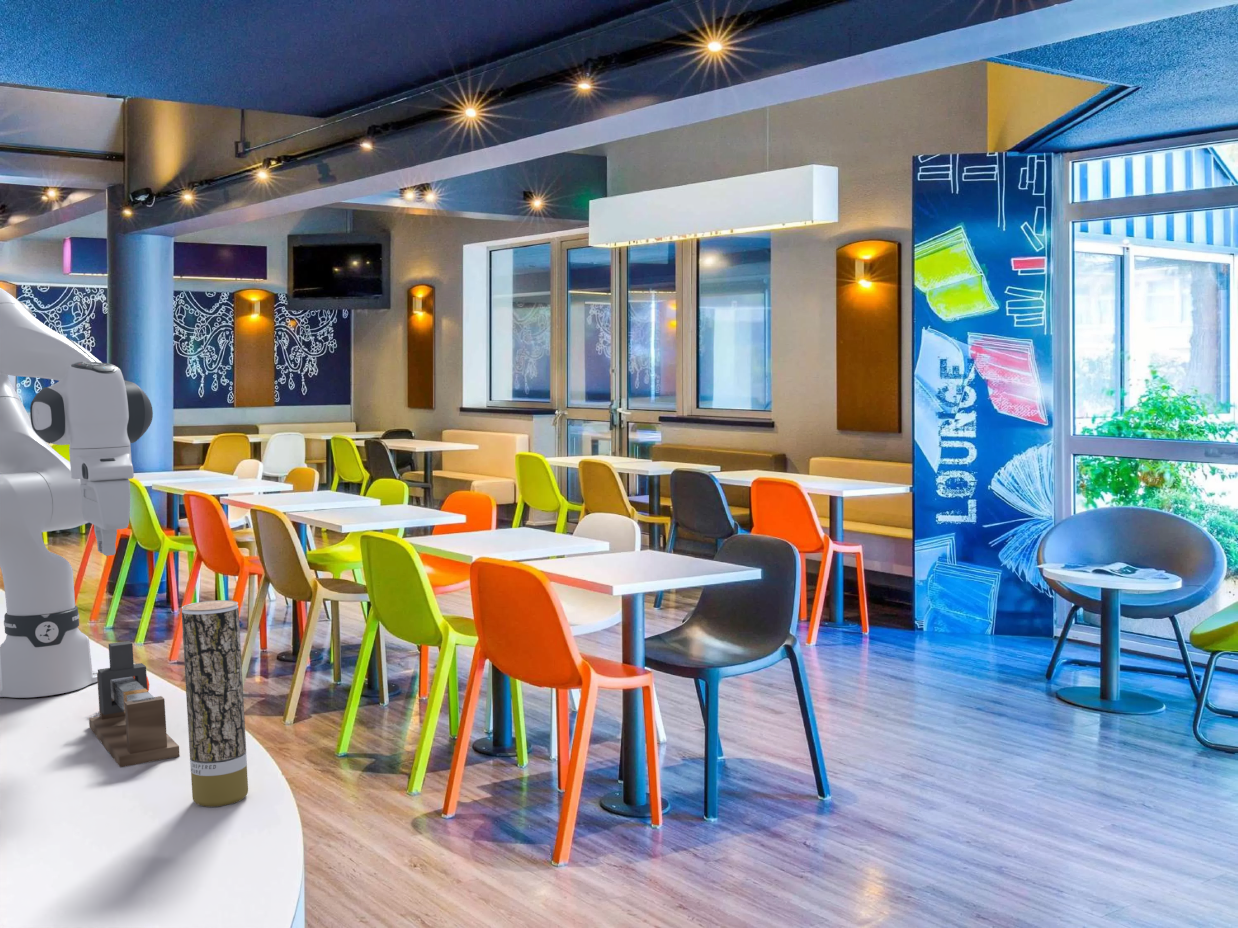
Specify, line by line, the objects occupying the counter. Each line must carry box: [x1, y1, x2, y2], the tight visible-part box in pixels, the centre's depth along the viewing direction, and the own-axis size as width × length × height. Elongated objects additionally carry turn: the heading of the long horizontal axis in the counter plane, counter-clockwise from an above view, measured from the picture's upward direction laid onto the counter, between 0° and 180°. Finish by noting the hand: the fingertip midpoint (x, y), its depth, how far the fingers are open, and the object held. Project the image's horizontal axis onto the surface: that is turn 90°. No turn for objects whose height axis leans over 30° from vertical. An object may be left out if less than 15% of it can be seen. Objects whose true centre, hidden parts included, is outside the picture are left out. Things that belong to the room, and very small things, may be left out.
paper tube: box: [181, 599, 249, 808], centre depth 152 cm, size 7×7×25 cm
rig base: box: [88, 673, 180, 768], centre depth 180 cm, size 25×8×8 cm, turn 33°
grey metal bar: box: [110, 677, 155, 712], centre depth 180 cm, size 22×3×3 cm, turn 33°
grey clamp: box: [97, 640, 148, 715], centre depth 184 cm, size 3×6×10 cm, turn 123°
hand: (106, 553), depth 189 cm, fingers open, 2 cm apart
